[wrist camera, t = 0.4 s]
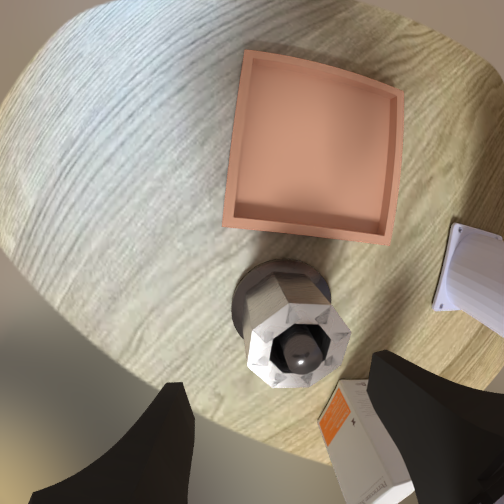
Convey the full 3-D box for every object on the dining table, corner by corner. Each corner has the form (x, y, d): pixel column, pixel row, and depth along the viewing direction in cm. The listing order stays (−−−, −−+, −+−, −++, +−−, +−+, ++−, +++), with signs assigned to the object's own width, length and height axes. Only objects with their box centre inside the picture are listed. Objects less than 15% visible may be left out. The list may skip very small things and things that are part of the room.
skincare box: (337, 378, 21) (395, 485, 10) (375, 377, 22) (439, 468, 10) (314, 422, 23) (350, 521, 11) (350, 420, 23) (393, 508, 12)
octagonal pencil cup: (327, 275, 18) (358, 305, 13) (312, 343, 19) (333, 385, 15) (248, 269, 18) (256, 301, 13) (239, 341, 19) (244, 387, 14)
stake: (337, 263, 19) (384, 299, 12) (317, 348, 20) (347, 403, 14) (236, 254, 18) (241, 292, 12) (227, 346, 19) (229, 408, 13)
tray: (393, 96, 16) (403, 91, 15) (379, 241, 19) (389, 245, 17) (243, 58, 15) (244, 49, 13) (222, 223, 17) (221, 226, 16)
